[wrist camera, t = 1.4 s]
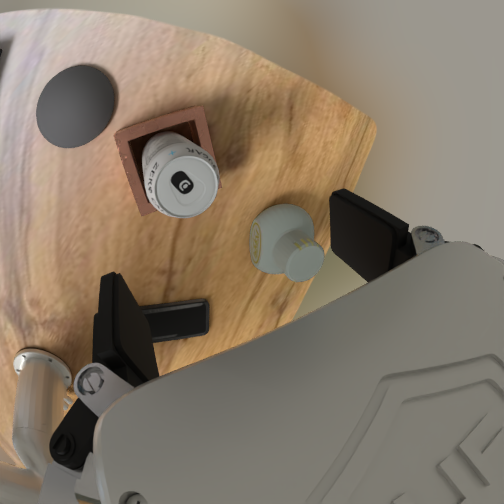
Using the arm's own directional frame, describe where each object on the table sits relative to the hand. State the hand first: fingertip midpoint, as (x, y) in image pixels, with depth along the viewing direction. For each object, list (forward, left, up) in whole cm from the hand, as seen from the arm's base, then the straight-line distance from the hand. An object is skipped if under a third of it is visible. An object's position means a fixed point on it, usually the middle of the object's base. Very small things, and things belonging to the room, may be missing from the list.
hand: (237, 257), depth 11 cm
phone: (-25, +9, -26) cm, 37 cm away
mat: (+10, +9, -26) cm, 29 cm away
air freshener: (-16, -12, -26) cm, 33 cm away
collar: (0, 0, -26) cm, 26 cm away
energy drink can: (0, 0, -26) cm, 26 cm away
